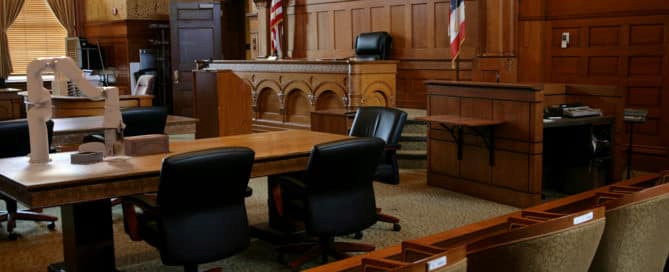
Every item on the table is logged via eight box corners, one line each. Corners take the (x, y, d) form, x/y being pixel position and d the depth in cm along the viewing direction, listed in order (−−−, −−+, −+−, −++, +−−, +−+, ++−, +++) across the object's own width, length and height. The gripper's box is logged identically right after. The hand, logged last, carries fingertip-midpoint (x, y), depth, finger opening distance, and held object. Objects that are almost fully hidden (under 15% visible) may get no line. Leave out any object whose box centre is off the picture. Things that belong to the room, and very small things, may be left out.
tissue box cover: (158, 149, 452) (157, 134, 451) (169, 151, 441) (168, 135, 440) (120, 153, 435) (119, 137, 434) (131, 156, 424) (130, 139, 423)
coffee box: (117, 154, 413) (115, 127, 411) (125, 154, 409) (123, 127, 408) (105, 156, 405) (103, 128, 403) (113, 156, 402) (111, 128, 400)
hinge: (81, 159, 413) (78, 142, 414) (78, 161, 416) (75, 144, 418) (108, 156, 424) (105, 140, 425) (106, 157, 427) (102, 142, 429)
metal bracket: (70, 163, 398) (70, 154, 397) (87, 159, 411) (86, 151, 410) (86, 163, 394) (86, 154, 393) (103, 160, 407) (102, 151, 406)
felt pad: (100, 160, 404) (100, 159, 404) (113, 157, 415) (113, 156, 415) (117, 161, 400) (117, 160, 400) (130, 158, 411) (130, 157, 411)
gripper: (95, 108, 404) (97, 139, 406) (121, 109, 398) (122, 140, 400) (104, 107, 411) (106, 137, 413) (129, 108, 405) (130, 138, 407)
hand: (114, 138), depth 406 cm, fingers closed on coffee box, 7 cm apart
